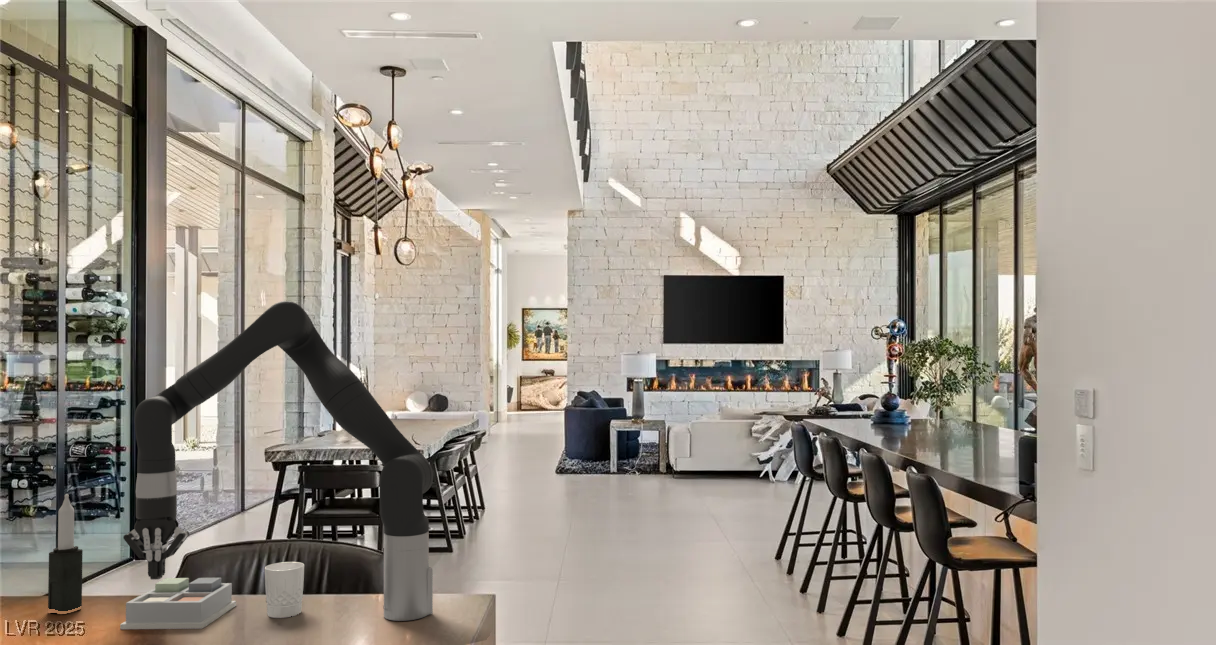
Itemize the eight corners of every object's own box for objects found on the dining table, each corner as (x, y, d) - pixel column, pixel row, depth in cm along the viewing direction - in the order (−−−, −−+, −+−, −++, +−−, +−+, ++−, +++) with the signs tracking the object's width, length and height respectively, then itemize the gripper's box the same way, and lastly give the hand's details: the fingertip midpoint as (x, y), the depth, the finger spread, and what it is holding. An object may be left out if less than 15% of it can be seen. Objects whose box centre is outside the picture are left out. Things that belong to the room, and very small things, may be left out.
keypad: (236, 605, 195) (236, 582, 195) (202, 628, 178) (202, 603, 178) (160, 606, 194) (161, 583, 195) (120, 629, 178) (120, 604, 178)
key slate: (221, 593, 192) (221, 577, 193) (211, 599, 188) (211, 583, 188) (198, 593, 192) (199, 577, 192) (188, 599, 188) (188, 583, 188)
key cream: (172, 613, 185) (173, 597, 185) (161, 620, 180) (161, 603, 181) (149, 613, 185) (150, 597, 185) (137, 620, 180) (138, 604, 181)
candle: (84, 608, 193) (86, 492, 194) (63, 615, 188) (64, 496, 189) (66, 606, 194) (68, 491, 195) (45, 613, 190) (47, 495, 190)
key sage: (188, 593, 192) (188, 577, 192) (178, 599, 188) (178, 583, 188) (166, 593, 192) (166, 578, 192) (155, 599, 188) (155, 583, 188)
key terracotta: (206, 613, 185) (207, 597, 185) (196, 619, 181) (196, 603, 181) (183, 613, 185) (183, 597, 185) (172, 620, 180) (172, 603, 181)
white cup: (310, 608, 192) (310, 561, 192) (293, 619, 184) (294, 570, 184) (275, 608, 192) (275, 561, 193) (257, 618, 185) (257, 570, 185)
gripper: (197, 490, 187) (197, 573, 187) (133, 491, 187) (133, 574, 187) (180, 496, 180) (180, 582, 179) (114, 497, 180) (114, 584, 179)
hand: (156, 578), depth 183 cm, fingers closed
